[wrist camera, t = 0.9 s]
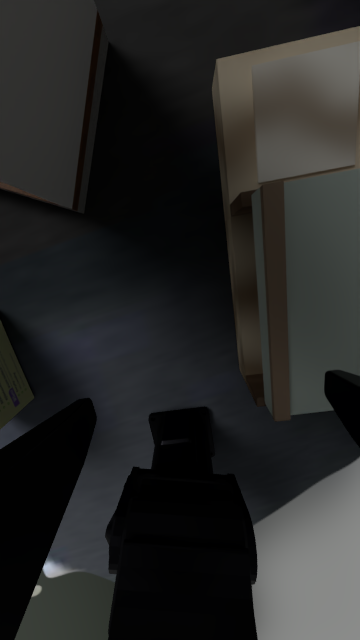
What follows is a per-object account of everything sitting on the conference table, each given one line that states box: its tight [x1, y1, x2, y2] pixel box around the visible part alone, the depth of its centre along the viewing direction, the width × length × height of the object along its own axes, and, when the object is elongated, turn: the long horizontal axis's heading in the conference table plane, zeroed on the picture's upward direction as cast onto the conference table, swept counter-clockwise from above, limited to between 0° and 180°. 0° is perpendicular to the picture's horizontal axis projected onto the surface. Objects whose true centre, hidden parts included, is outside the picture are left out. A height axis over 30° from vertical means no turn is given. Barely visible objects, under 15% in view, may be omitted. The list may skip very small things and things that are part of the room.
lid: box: [251, 168, 360, 422], centre depth 13 cm, size 14×10×2 cm
